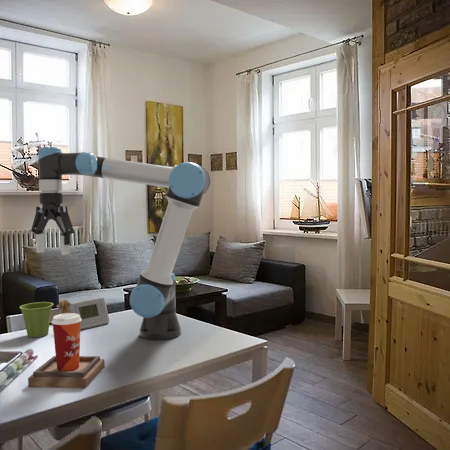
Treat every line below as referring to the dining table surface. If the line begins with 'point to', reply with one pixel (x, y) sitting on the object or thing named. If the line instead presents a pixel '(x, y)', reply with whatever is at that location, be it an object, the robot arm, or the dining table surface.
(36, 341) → the dining table surface
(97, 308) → the digital clock
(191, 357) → the dining table surface
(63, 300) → the lion figurine
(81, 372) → the walnut base plate
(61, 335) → the coffee cup
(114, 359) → the dining table surface
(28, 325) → the plant pot
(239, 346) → the dining table surface
